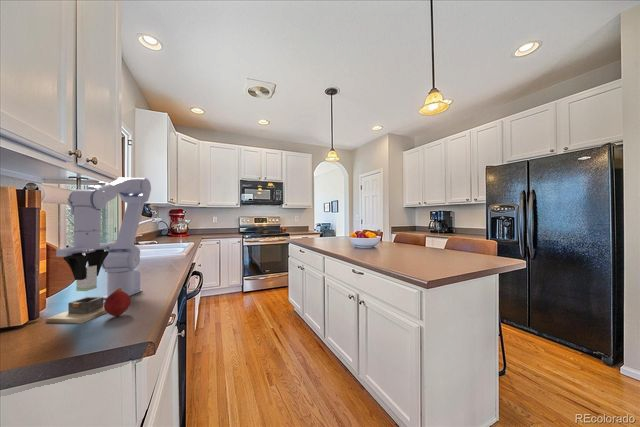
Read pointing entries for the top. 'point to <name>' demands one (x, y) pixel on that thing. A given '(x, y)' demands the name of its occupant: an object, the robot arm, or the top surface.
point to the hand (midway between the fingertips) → (86, 277)
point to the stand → (80, 311)
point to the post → (88, 279)
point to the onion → (117, 303)
